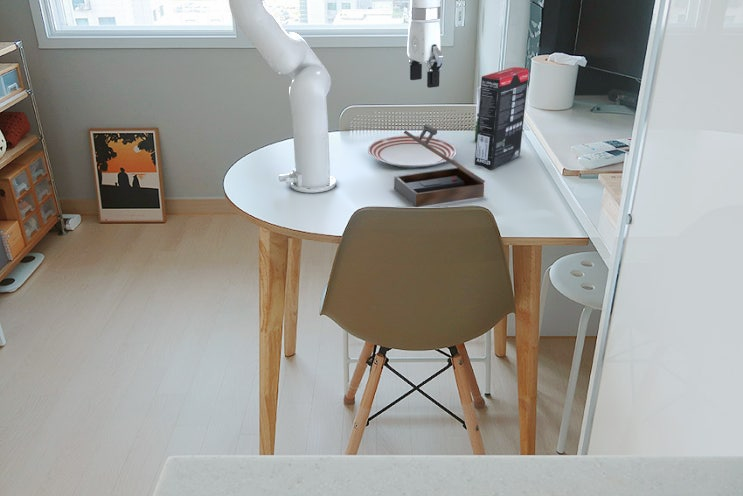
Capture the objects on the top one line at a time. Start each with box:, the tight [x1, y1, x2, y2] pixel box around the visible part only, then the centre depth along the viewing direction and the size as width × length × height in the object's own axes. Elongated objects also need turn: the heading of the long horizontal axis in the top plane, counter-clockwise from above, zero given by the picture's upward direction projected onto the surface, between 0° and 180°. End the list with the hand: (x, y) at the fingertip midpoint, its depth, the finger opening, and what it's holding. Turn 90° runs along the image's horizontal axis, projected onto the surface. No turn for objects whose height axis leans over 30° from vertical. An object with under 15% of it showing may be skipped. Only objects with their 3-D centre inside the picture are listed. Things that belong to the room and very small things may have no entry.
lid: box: [403, 123, 486, 185], centre depth 186 cm, size 20×15×5 cm
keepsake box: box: [393, 167, 485, 208], centre depth 189 cm, size 20×15×4 cm
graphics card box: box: [474, 66, 530, 170], centre depth 209 cm, size 17×7×27 cm, turn 141°
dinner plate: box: [367, 134, 458, 169], centre depth 217 cm, size 27×27×3 cm
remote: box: [406, 176, 464, 193], centre depth 189 cm, size 15×5×3 cm, turn 111°
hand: (424, 83), depth 183 cm, fingers open, 9 cm apart
